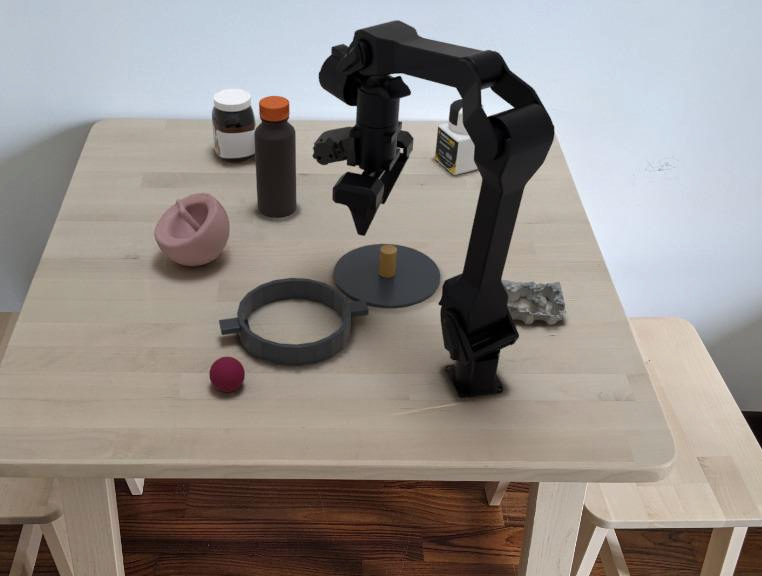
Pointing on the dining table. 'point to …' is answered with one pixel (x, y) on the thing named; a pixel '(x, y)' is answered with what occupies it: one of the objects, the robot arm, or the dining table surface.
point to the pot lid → (387, 275)
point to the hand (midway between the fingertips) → (371, 218)
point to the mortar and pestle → (193, 230)
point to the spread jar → (233, 126)
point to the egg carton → (535, 301)
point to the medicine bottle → (455, 143)
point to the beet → (227, 374)
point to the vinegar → (275, 159)
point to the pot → (293, 352)
